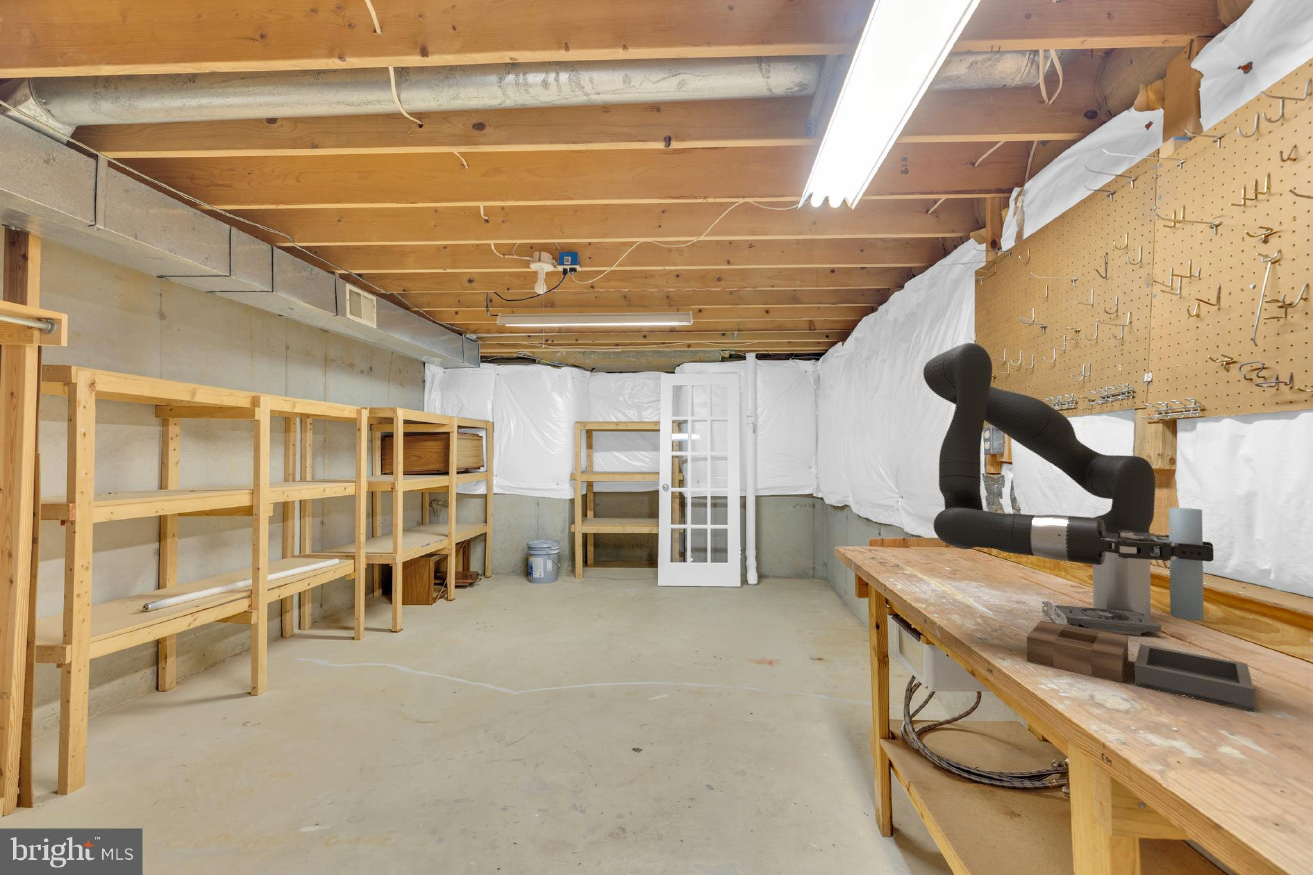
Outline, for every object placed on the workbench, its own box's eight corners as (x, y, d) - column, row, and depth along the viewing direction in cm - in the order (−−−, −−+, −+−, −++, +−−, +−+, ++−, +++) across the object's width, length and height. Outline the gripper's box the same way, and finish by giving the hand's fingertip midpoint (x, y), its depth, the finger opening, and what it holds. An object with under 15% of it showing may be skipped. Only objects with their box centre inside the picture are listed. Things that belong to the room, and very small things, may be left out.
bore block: (1041, 642, 100) (1040, 620, 101) (1128, 660, 92) (1128, 635, 92) (1027, 661, 92) (1026, 636, 92) (1122, 682, 84) (1121, 655, 84)
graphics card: (1059, 616, 106) (1041, 599, 117) (1059, 636, 106) (1041, 616, 117) (1172, 627, 100) (1141, 608, 111) (1171, 648, 100) (1141, 626, 111)
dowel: (1170, 611, 86) (1169, 507, 86) (1203, 616, 83) (1202, 508, 83) (1169, 617, 83) (1168, 509, 83) (1203, 622, 81) (1202, 511, 81)
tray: (1140, 662, 91) (1140, 643, 91) (1247, 683, 83) (1247, 663, 83) (1135, 685, 82) (1134, 664, 83) (1254, 711, 74) (1253, 689, 74)
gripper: (1059, 519, 88) (1213, 531, 76) (1073, 512, 98) (1211, 521, 86) (1060, 567, 88) (1214, 586, 76) (1074, 554, 98) (1212, 569, 86)
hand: (1212, 551), depth 81 cm, fingers closed on dowel, 3 cm apart
